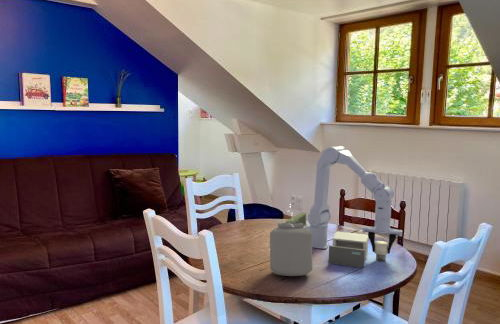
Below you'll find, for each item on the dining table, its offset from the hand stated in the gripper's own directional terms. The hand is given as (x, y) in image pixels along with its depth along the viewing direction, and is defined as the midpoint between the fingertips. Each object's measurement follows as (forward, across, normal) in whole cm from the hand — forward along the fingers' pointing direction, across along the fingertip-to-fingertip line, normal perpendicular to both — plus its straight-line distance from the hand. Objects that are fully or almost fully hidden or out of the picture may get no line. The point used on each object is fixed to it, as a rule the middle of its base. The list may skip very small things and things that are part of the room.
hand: (381, 251), depth 161 cm
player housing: (+3, -12, +3) cm, 13 cm away
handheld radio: (+4, -41, +27) cm, 49 cm away
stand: (+3, 0, 0) cm, 3 cm away
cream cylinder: (0, 0, 0) cm, 0 cm away
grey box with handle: (+3, -12, -6) cm, 14 cm away
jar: (+4, -30, -25) cm, 39 cm away
